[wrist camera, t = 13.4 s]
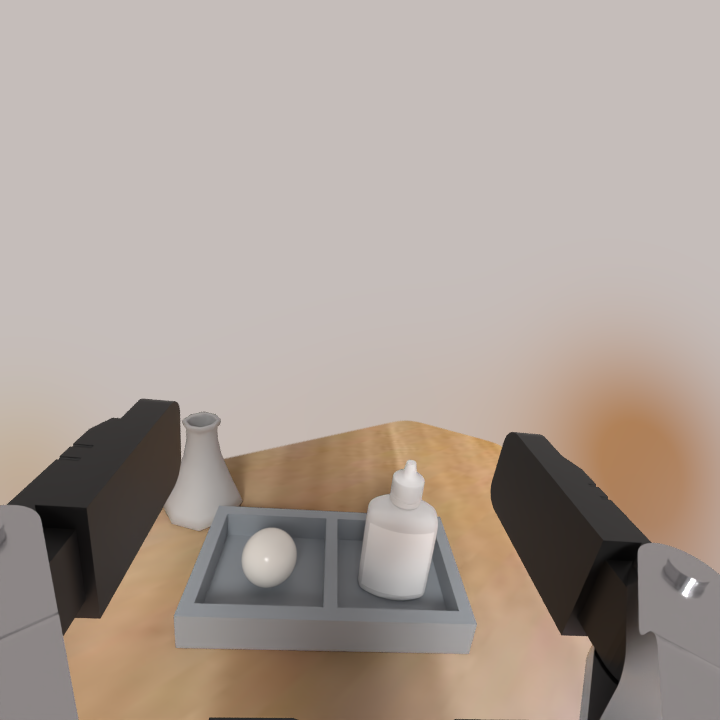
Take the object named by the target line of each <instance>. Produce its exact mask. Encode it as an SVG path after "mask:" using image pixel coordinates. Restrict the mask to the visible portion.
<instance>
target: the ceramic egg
mask: <svg viewBox="0 0 720 720" xmlns="http://www.w3.org/2000/svg"><path fill="white" fill-rule="evenodd" d="M296 560H297V549H296V545H295V543H294V541H293V539H292V538H291V536H290V535H289V534H288V533H287V532H285V531H283V530H281V529H279V528H265V529H262V530H260V531H258V532H256V533H255V534H254V535H253V536H251V538H250V539H249V540H248V541H247V543H246V545H245V547H244V549H243V552H242V559H241V562H242V569H243V572H244V574H245V576H246V577H247V579H248V580H249V581H250V582H251V583H253V584H254V585H256V586H258V587H262V588H271V587H275V586H278V585H280V584H281V583H283V582H284V581H285V580H286V579H287V578H288V577H289V576H290V575H291V573H292V571H293V570H294V567H295V565H296Z"/></svg>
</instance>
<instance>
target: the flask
mask: <svg viewBox="0 0 720 720" xmlns="http://www.w3.org/2000/svg"><path fill="white" fill-rule="evenodd" d="M220 422H221V420H220V418H219V417H218V416H217V415H216V414H212V413H208V412H200V413H196V414H191V415H189V416H188V417H186V418H185V419H184V420H183V421H182V423H183V425H184V426H185V427H186V436H187V439H186V445H185V451H184V456H183V458H182V461H181V465H180V472H179V476H178V479H177V482H176V485H175V487H174V489H173V490H172V492H171V494H170V496H169V498H168V499H167V501H166V503H165V505H164V506H163V508H164V510H165V511H166V513H167V515H168V517H169V519H170V521H171V523H172V524H175V525H179V526H182V527H186V528H190V529H193V530H197V531H201V530H203V529H206V528H208V527H211V524H212V522H213V519H214V517H215V514H216V512H217V509H218V507H219V506H236V507H239V505H240V504H241V503H242V498H241V496H240V494H239V492H238V490H237V488H236V486H235V484H234V482H233V479H232V477H231V475H230V473H229V471H228V468H227V466H226V464H225V461H224V459H223V457H222V455H221V451H220V446H219V442H218V435H217V427H218V426H219V425H220Z"/></svg>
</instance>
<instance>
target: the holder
mask: <svg viewBox="0 0 720 720" xmlns="http://www.w3.org/2000/svg"><path fill="white" fill-rule="evenodd" d="M366 517H367V513H355V512H335V511H315V510H295V509H275V508H256V507H236V506H219V507H218V509H217V512H216V514H215V517H214V519H213V522H212V524H211V527H210V529H209V531H208V534H207V536H206V539H205V541H204V544H203V546H202V549H201V551H200V553H199V556H198V558H197V561H196V563H195V566H194V568H193V571H192V573H191V575H190V578H189V580H188V583H187V585H186V588H185V590H184V593H183V595H182V597H181V600H180V602H179V605H178V607H177V610H176V612H175V615H174V628H175V644H176V648H209V649H258V650H306V651H355V652H404V653H452V654H469V651H470V647H471V644H472V640H473V637H474V633H475V629H476V626H477V623H476V620H475V618H474V615H473V612H472V609H471V606H470V603H469V600H468V597H467V594H466V591H465V588H464V585H463V583H462V580H461V577H460V574H459V571H458V568H457V565H456V562H455V559H454V556H453V553H452V550H451V548H450V545H449V542H448V539H447V536H446V533H445V530H444V527H443V524H442V521H441V518H440V517H437V519H438V529H437V535H436V540H435V545H434V550H433V555H432V559H431V564H430V569H429V574H428V578H427V583H426V588H425V592H424V594H423V596H421V597H420V598H417V599H413V600H403V601H399V600H390V599H385V598H381V597H378V596H376V595H373V594H371V593H369V592H367V591H365V590H364V589H362V588H361V587H360V585H359V582H358V575H359V567H360V559H361V552H362V545H363V538H364V531H365V524H366ZM265 528H279V529H281V530H283V531H285V532H287V533H288V534H289V535H290V536H291V538H292V539H293V541H294V543H295V545H296V549H297V560H296V565H295V567H294V570H293V571H292V573H291V575H290V576H289V577H288V578H287V579H286V580H285V581H284V582H283V583H281V584H280V585H278V586H275V587H271V588H262V587H258V586H256V585H254V584H253V583H251V582H250V581H249V580H248V579H247V577H246V576H245V574H244V572H243V569H242V562H241V559H242V552H243V549H244V547H245V545H246V543H247V541H248V540H249V539H250V538H251V536H253V535H254V534H255V533H256V532H258V531H260V530H262V529H265Z"/></svg>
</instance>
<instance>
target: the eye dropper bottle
mask: <svg viewBox="0 0 720 720" xmlns="http://www.w3.org/2000/svg"><path fill="white" fill-rule="evenodd" d="M424 483H425V482H424V478H423V477H422V475H421V474H419V473H418V472H417V470H416V462H415V461H414V460H408V461H407V463H406V465H405V468H404V469H401V470H398V471H396V472H395V473H394V475H393V479H392V486H391V492H390V494H386V495H382V496H378V497H376V498H374V499H372V500H371V501H370V503H369V506H368V510H367V517H366V524H365V531H364V538H363V545H362V552H361V559H360V567H359V575H358V582H359V585H360V587H361V588H362V589H364V590H365V591H367V592H369V593H371V594H373V595H376V596H378V597H381V598H385V599H390V600H399V601H403V600H413V599H417V598H420V597H421V596H423V594H424V592H425V588H426V583H427V578H428V574H429V569H430V564H431V559H432V555H433V550H434V545H435V540H436V535H437V529H438V519H437V513H436V511H435V509H434V508H433V507H432V506H431V505H430V504H428V503H427V502H425V501H423V500H421V499H422V494H423V488H424Z"/></svg>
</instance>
